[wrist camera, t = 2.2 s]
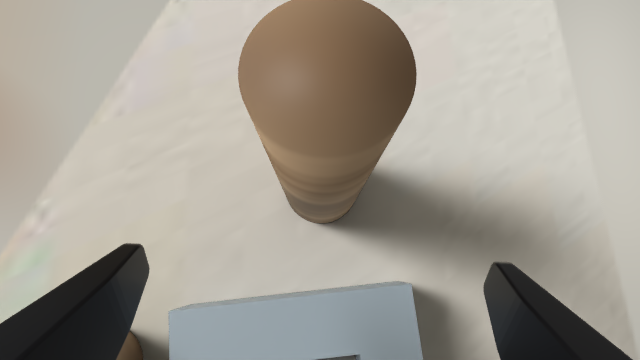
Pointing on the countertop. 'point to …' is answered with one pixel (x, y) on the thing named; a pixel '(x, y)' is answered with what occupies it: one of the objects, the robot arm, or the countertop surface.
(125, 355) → the walnut peg short
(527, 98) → the countertop surface
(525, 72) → the countertop surface
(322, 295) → the collar block
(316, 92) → the walnut peg long
